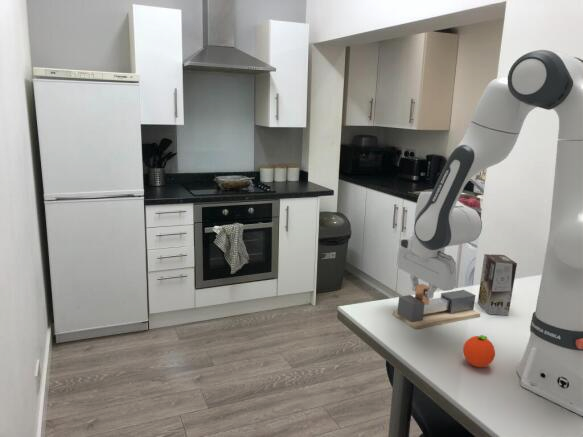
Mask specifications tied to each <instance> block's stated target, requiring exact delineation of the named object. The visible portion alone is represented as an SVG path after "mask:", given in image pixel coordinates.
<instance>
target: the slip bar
mask: <svg viewBox="0 0 583 437" xmlns="http://www.w3.org/2000/svg"><path fill="white" fill-rule="evenodd" d="M429 288H430V287H429V285H426V283H425V284H424V283H422V284H421V283H419V285H416V292H415V295H414V297H415V298H417V299H419V300H421V301H422V302H424V303H425V305H424V313H423V314H428V313H434V312H439V311H445V310H450V303H451V300H450V299H448V298H446V297H441V296H440V297H436V298H432V299H428V298H426V297H425V291H428V290H429Z"/></svg>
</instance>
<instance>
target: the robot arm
mask: <svg viewBox="0 0 583 437" xmlns="http://www.w3.org/2000/svg"><path fill="white" fill-rule="evenodd" d="M536 108H540V109H544V110H548V111H551V110H554V112H555V113H556V114H557V116H558V134H557V144H556V154H555V155H556V157H555V168H554V178H553V188H552V189H553V190H552V200H551V208H550V210H551V211H550V212H551V213H550V221H549V232H548V238H547V243H546V249H545V250H546V251H545V255H544V260H543V268H542V271H541V279H540V284H539V288H538V295H537V299H536V300H537V301H536V307H535V310H534V312H532V316H531V319H530V324H529V325H530V326H529V332H530V334H529V335H530V336H529V338H528V343H527V344H526V348H525V351H524V353H523V356H522V358H521V360H520V362H519V364H518V365H517V367H516V372H517V374H518V376H519V378H520V381H519V384H520V386H521V387H522V388H524V389H527V391H530V392H532V393H534V394H537V395H539V396H541V397H543V398H545V399H546V400H549V401H551V402H553V403H555V404H557V405H559V406H561V407H562V408H565V409H567V410H569V411H571V412H574V414H575V413H576V414H577V415H579V416H582V417H583V59H581V58H579V57H576V56H573V55H570V54H568V53H565V52H563V51H555V50H548V49H539V50H533V51H529V52H527V53H525V54H522V55H521V56H520V57H519V58H517V59H516V60H515V61H514V63H513V64H512V65H511V67H510V69H509V71H508V75H507V76H501V77H498V78H495V79H493V80H490V82H489V83H488V84H487V86H486V87H485V89H484V91H483V93H482V94H481V96H480V99H479V100H478V103H477V105H476V106H475V109H474V111H473V113H472V115H471V116H472V117H471V119H470V123H469V125H468V127H467V129H466V132H465V133H464V135H463V137H462V139H461V140H460V142H459V144H458V145H457V147H456V148H454V150H453V151H452V152H451V153H450V155H449V156H448V159H447V160H446V162H445V164H444V167H443V169H442V170H441V173H440V175H438V176H439V177H438V179H437V181H436V183H435V185H434V188H433V189H424V190H423V191H421V192H420V194H419V195H418V198H417V201H416V206H415V212H414V224H413V231H412V236H411V237H405V238H400V239H399V240H398V243H399V244H398V245H399V247H398V252H397V258H396V265H397V268H398V269H399V270H401V271H403V273H407V274H409V275H410V277H409V278H410V282H411V284H412V286H411V290H412V291H413V292H415V293H416V285H419V284H420V283H419V280H421V281H423V282H425V283H428V286H429V287H430V288H429V290H428V291H425V297H426V298H428V299H434V294H435V292H436V290H439V289H440V290H441V291H444V292H446V291H447V292H449V291H454V289H455V288H456V285H457V284H456V283H457V267H456V266H457V263H456V261H455V259H454V258H453V256H452V255H450V254H448V253H447V254H446V253H445V250H446V248H447V247H452V246H459V245H464V244H469V243H472V242H474V241H476V240H477V239H478V238H479V237H480V235H481V233H482V230H483V222H482V217H481V216H480V214H479V212H478V211H477V210H476V209H474V208H473V207H469V206H467V205H465V204H463V203H462V202H460V201H459V199H460V197H461V194H462V193H463V190H464V188H465V187H466V186H467V183H469V181H470V180H472V178H474V176H476V175H477V174H479V173H481V172H483V171H484V170H486V169H488V168H490V167H493V166H495V165H498V164H500V163H501V162H503V161H505V159H506V158H508V157H509V155H510V154H511V152H512V151H513V148H514V147H515V145H516V143H517V140H518V138H519V135H520V133H521V130H522V127H523V125H524V123H525V121H526V118H527V117H528V116H529V114H530V112H531V111H532V110H534V109H536Z"/></svg>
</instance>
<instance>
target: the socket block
mask: <svg viewBox="0 0 583 437" xmlns="http://www.w3.org/2000/svg"><path fill="white" fill-rule="evenodd" d="M424 305H425V303H424V302H422V301H421V300H419V299H417V298H415V296H413V295H411V294H406V295H401V296H399V297H398V304H397V310H398V311H397V314H398V315H400V316H402V317H403V318H405V319H406V320H408V321H410V322H417V321H422V320H423V313H424Z"/></svg>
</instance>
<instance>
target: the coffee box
mask: <svg viewBox="0 0 583 437" xmlns="http://www.w3.org/2000/svg"><path fill="white" fill-rule="evenodd" d="M483 255H484V256H483V262H482V268H481V275H480V276H481V277H480V284H479V290H478V298H477V304H478V305H479V306H480V307H481V308H482V309H483V311H485V312H486V313H487V314H488V315H498V316H499V315H501V316H509V314H510V308H511V302H512V297H513V296H512V295H513V290H514V285H515V284H514V283H515V279H516V271H517V267H518V266H517V265H518V263H517V262H516V261H514V260H512V259H511V258H509V257H508V256H506V255H505V254H489V253H487V254H485V253H484V254H483Z"/></svg>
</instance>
